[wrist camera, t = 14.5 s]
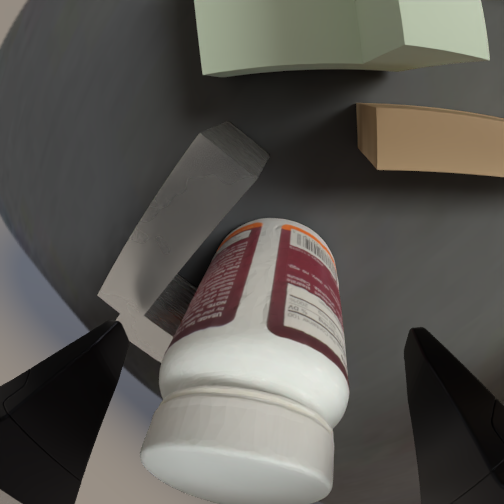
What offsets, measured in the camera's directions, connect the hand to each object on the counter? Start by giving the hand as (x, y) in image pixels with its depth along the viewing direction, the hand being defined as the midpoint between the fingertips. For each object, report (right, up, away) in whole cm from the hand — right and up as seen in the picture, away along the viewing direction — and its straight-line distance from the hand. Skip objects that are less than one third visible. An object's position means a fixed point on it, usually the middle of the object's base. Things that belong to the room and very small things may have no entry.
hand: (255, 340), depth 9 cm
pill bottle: (+1, +2, +4) cm, 4 cm away
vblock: (-2, +2, +4) cm, 5 cm away
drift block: (+1, +10, -2) cm, 10 cm away
